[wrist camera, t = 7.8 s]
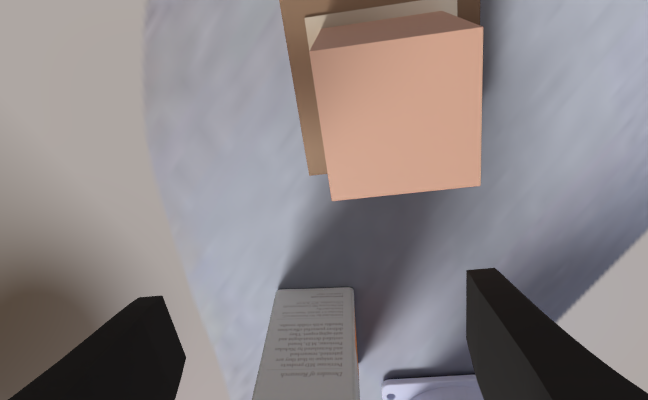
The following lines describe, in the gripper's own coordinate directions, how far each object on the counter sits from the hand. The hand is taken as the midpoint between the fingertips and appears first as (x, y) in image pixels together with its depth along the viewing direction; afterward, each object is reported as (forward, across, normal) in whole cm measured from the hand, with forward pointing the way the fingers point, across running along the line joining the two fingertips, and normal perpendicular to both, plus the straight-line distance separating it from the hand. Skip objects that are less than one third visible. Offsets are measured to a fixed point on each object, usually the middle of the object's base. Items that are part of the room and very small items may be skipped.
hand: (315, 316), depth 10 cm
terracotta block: (+8, -2, -4) cm, 9 cm away
